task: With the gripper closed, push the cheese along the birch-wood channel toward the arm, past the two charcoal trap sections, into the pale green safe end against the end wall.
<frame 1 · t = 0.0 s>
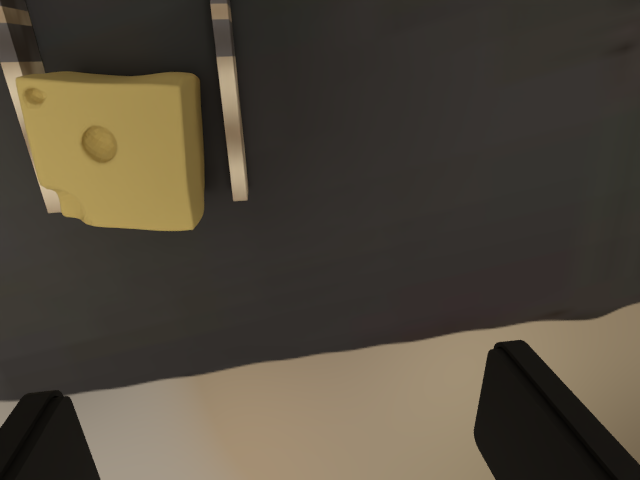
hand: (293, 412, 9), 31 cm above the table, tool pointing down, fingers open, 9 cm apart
cheese: (148, 133, 36), on the table
track: (123, 10, 32), on the table
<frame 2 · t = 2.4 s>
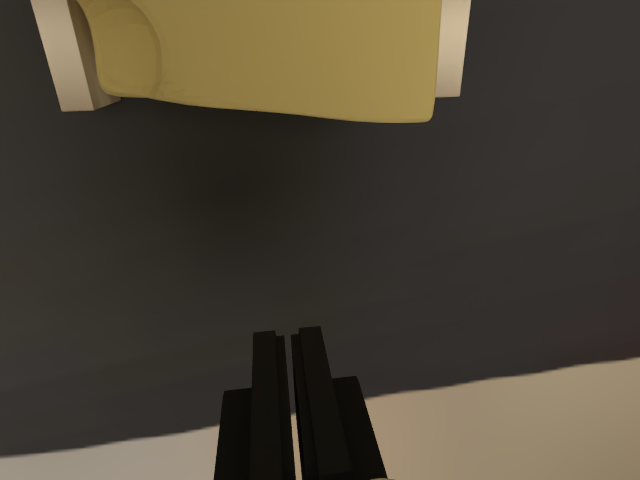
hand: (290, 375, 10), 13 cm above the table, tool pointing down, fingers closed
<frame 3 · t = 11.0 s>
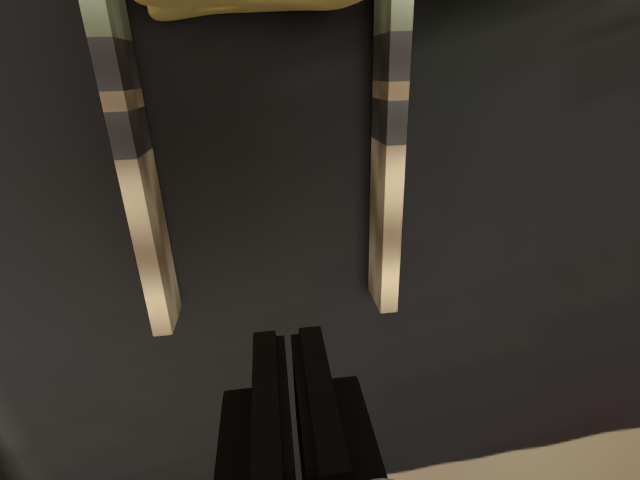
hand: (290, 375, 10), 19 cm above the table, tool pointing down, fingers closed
track: (260, 84, 25), on the table
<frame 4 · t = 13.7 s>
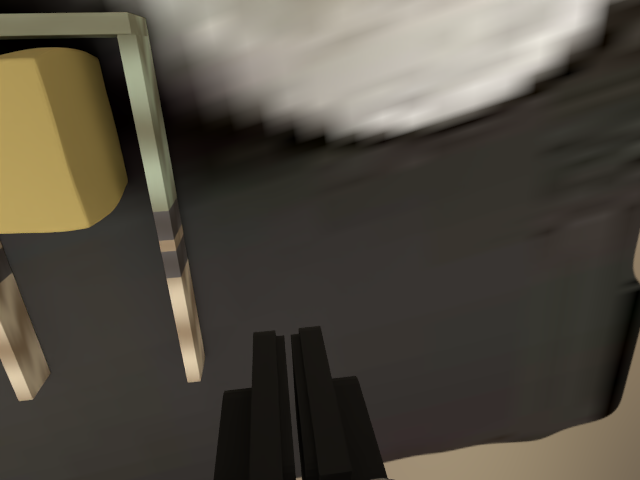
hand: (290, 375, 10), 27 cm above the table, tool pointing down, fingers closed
cheese: (54, 126, 32), on the table
track: (85, 230, 36), on the table
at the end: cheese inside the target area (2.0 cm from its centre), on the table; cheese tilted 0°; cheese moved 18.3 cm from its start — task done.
